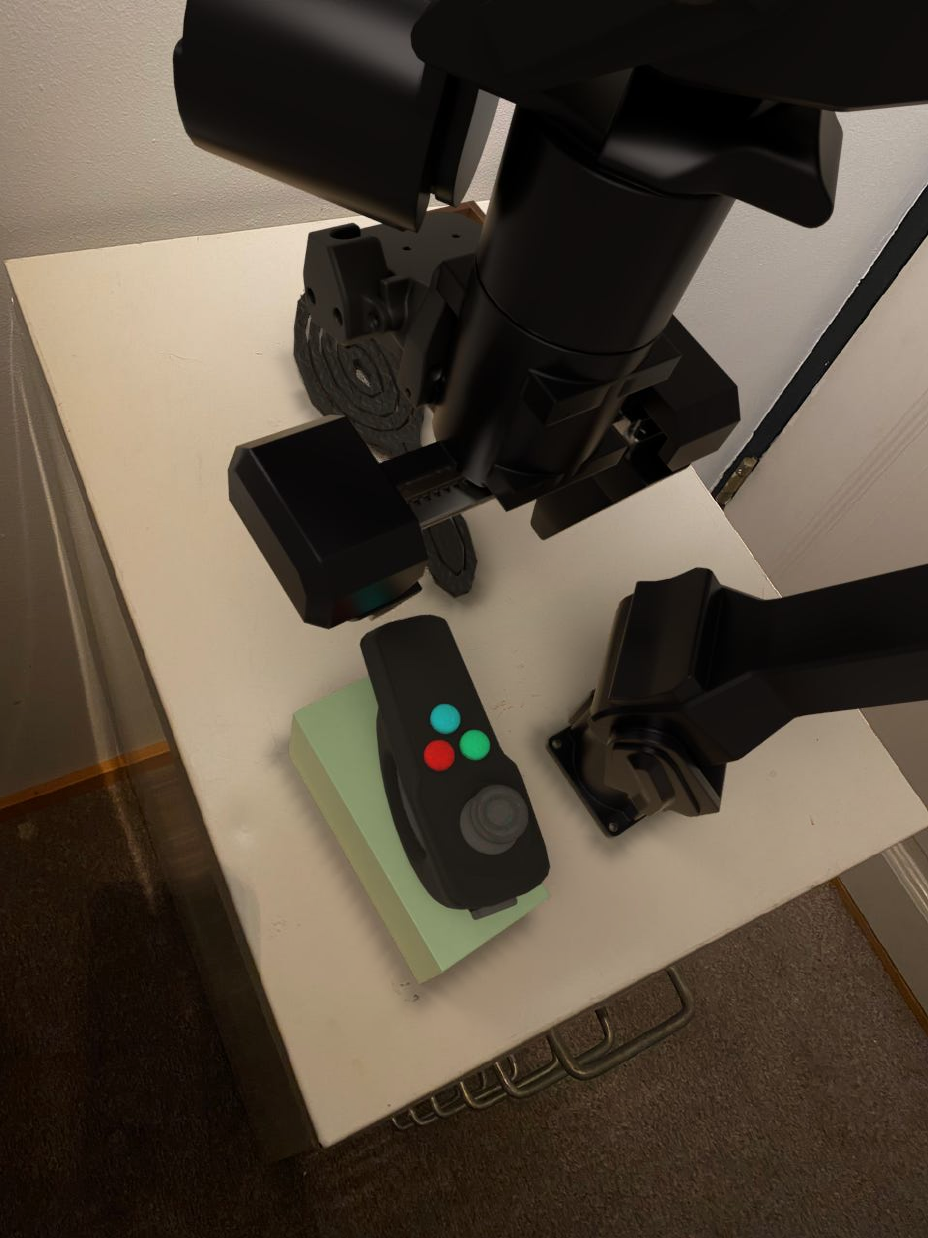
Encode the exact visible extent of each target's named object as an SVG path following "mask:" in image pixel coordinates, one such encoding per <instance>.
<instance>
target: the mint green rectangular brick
mask: <svg viewBox="0 0 928 1238" xmlns="http://www.w3.org/2000/svg"><path fill="white" fill-rule="evenodd" d="M377 712H378V704H377V701H376V697H375V694H374V691H373V687H372V684H371V681H370V678H369V674H368V675H366V676H364V677H362V678H360V679H359V680H356V681H354V682H352V683H350V684H348V685H346V686H344V687H342V688H340V689H338V690H336V691H334V692H331V693H330V694H328V695H326V696H324V697H322V698H320V699H318V700H315V701H314V702H312V703H310V704H308V705H306V706H304V707H302V708H300V709H298V710H296V711H294V712H292V715H291V716H292V717H291V726H290V727H291V728H290V736H289V737H290V738H289V748H288V756H289V757H290V759H291V761H292V763H293V765H294V766H295V768H296V770H297V772H298V773H299V775H300V777H301V779H302V780H303V781H304V782H303V783H304V784H305V786H306V788H307V789H308V791H309V793H310V795H311V797H312V798H313V800H314V801H315V803H316V805H317V807H318V808H319V811H320V812H321V814H322V815H323V817H324V819H325V821H326V823H327V824H328V827H329V828H330V829H331V832H332V833H333V835H334V837H335V839H336V841H337V842H338V844H339V846H340V847H341V849H342V851H343V852H344V854H345V856H346V858H347V859H348V861H349V863H350V865H351V867H352V868H353V870H354V872H355V874H356V875H357V877H358V879H359V881H360V882H361V884H362V886H363V888H364V889H365V891H366V893H367V895H368V897H369V899H370V900H371V902H372V904H373V905H374V908H375V909H376V911H377V912H378V914H379V915H380V918H381V920H382V922H383V923H384V925H385V927H386V929H387V930H388V932H389V934H390V936H391V937H392V939H393V940H394V943H395V944H396V946H397V948H398V950H399V951H400V953H401V955H402V956H403V959H404V960H405V962H406V964H407V965H408V967H409V969H410V971H411V972H412V974H413V977H414V978H415V980H416V981H417V983H418V984H419V985H420V984H423V983H424V982H425V983H426V982H427V981H429V980H431V979H432V978H434V977H436V976H438V975H441V974H442V973H444V972H446V971H447V970H449V969H450V968H451V967H453V966H455V965H456V964H457V963H458V962H460V961H462V960H463V959H464V958H466V957H467V956H469V955H471V954H472V953H473V952H474V951H476V950H477V949H479V948H480V947H481V946H484V944H486V943H488V942H489V941H490V940H492V939H493V938H494V937H496V936H497V935H499V934H500V933H501V932H503V931H504V930H506V929H507V928H509V927H510V926H512V925H513V924H515V923H516V922H517V921H518V920H520V919H522V918H523V917H524V916H526V915H528V913H530V912H531V911H533V910H534V909H536V908H537V907H539V906H540V905H542V904H543V903H544V902H546V901H547V900H549V899H550V898H551V896H552V895H551V893H550V892H549V891H548V889H547V887H546V886H545V884H544V882H542V883H541V884H540V885H539V886H537V887H536V888H534V889H533V890H531V891H530V892H528V893H526V894H523V895H521V896H518V897H516V898H517V901H518V902H517V904H516V905H515V906H512V907H510V908H507V909H505V910H502V911H500V912H497V913H494V914H492V915H489V916H486V917H484V918H481V919H478V920H474V919H473V918H472V916H471V913H470V912H469V910H468V909H466V910H457V909H451V908H447V907H445V906H443V905H441V904H440V903H438V902H437V901H436V900H434V899H433V898H432V897H431V896H430V894H429V893H428V892H427V891H426V889H425V888H424V886H423V885H422V884H421V882H420V880H419V879H418V877H417V875H416V874H415V872H414V870H413V868H412V866H411V865H410V863H409V860H408V858H407V856H406V854H405V851H404V849H403V846H402V844H401V841H400V838H399V836H398V833H397V830H396V828H395V825H394V822H393V818H392V815H391V811H390V807H389V804H388V800H387V797H386V793H385V789H384V784H383V779H382V774H381V769H380V761H379V753H378V743H377V732H376V719H377Z"/></svg>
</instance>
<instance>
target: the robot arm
mask: <svg viewBox="0 0 928 1238" xmlns="http://www.w3.org/2000/svg"><path fill="white" fill-rule="evenodd" d="M185 2H186V3H185V9H184V15H183V21H182V22H183V23H182V37H181V38H179V40H178V41H177V42H176V44H175V45H174V48H173V52H172V73H173V77H172V78H173V87H174V93H175V99H176V105H177V106H176V107H177V111H178V115H179V118H180V120H181V123H182V126H183V129H184V131H185V133H186V135H187V136H188V138H189V140H190V141H191V142H192V144H193V145H194V146H195V147H197V148H199V149H201V150H203V151H204V152H206V153H209V154H211V155H214V156H216V157H218V158H220V159H221V158H222V159H223V160H225V161H228V162H231V163H233V164H236V165H237V166H240V167H243V168H246V169H248V170H250V171H253V172H256V173H258V174H260V175H262V176H265V177H267V178H270V179H272V180H275V181H278V182H280V183H282V184H285V185H287V186H289V187H292V188H294V189H296V190H299V191H302V192H304V193H306V194H309V195H311V196H313V197H316V198H318V199H321V200H323V201H326V202H329V203H330V204H333V205H336V206H338V207H341V208H343V209H346V210H348V211H350V212H353V213H356V214H357V215H360V216H363V217H365V218H367V219H370V220H372V221H375V222H377V223H378V224H373V225H370V226H366V227H360V226H359V224H356V223H355V222H348V223H344V224H339V225H336V226H331V227H327V228H322V229H318V230H314V231H309V232H308V234H307V239H306V240H307V241H306V247H305V254H304V261H303V268H302V280H303V290H304V291H305V292H304V293H305V297H306V305H307V309H308V311H309V314H310V316H309V317H310V319H311V318H312V320H313V322H314V323H316V324H317V325H318V326H319V327H321V328H320V329H322V331H323V330H324V331H326V332H327V333H328V334H329V335H331V336H332V337H333V338H334V339H335V341H336V342H337V341H338V342H339V343H341V344H342V345H344V346H347V345H350V344H353V343H357V342H360V341H363V340H367V339H370V338H374V339H375V340H376V341H377V342H379V343H380V344H381V345H383V346H384V347H385V348H387V349H388V350H389V351H391V352H392V353H393V354H395V355H396V356H397V357H399V358H400V359H402V360H401V365H400V370H399V375H398V379H397V385H398V386H399V388H400V389H401V391H402V392H403V393H404V395H405V396H406V397H407V399H408V400H409V401H410V403H411V404H412V406H413V407H414V408H416V409H417V408H420V407H423V406H424V407H425V406H427V408H429V410H430V411H431V412H432V414H433V417H432V421H431V425H432V432H433V436H434V439H435V441H434V442H432V443H429V444H427V445H424V446H422V447H421V448H418V449H416V450H413V451H410V452H408V453H405V454H402V455H400V456H397V457H394V458H392V457H391V458H388V459H387V460H384V461H381V462H379V460H378V459H377V458H376V456H375V455H374V454H373V452H372V450H371V449H370V447H369V446H368V445H366V443H365V442H364V441H363V439H362V438H361V436H360V435H359V433H358V432H357V430H356V429H355V428H354V426H353V425H352V423H351V422H350V420H349V419H348V417H347V416H343V415H327V416H321V417H318V418H315V419H312V420H310V421H307V422H303V423H301V424H298V425H294V426H292V427H288V428H286V429H283V430H280V431H277V432H274V433H271V434H268V435H265V436H262V437H259V438H256V439H253V440H250V441H247V442H244V443H241V444H238V445H235V448H234V450H233V454H232V456H231V459H230V462H229V464H228V467H227V487H228V501H229V503H230V504H231V506H232V507H233V509H234V511H235V512H236V514H237V516H238V517H239V519H240V520H241V522H242V524H243V526H244V527H245V529H246V530H247V532H248V534H249V536H250V537H251V538H252V540H253V542H254V544H255V545H256V547H257V548H258V550H259V552H260V553H261V555H262V557H263V558H264V560H265V561H266V563H267V565H268V566H269V568H270V569H271V571H272V573H273V575H274V576H275V578H276V579H277V582H278V583H279V584H280V586H281V587H282V589H283V591H284V593H285V594H286V596H287V598H288V599H289V601H290V603H291V604H292V606H293V607H294V609H295V610H296V613H297V614H298V615H299V617H300V619H301V620H302V622H303V624H307V625H310V626H314V627H318V628H321V629H325V630H331V629H333V628H336V627H338V626H340V625H342V624H344V623H347V622H348V623H355V622H359V621H362V620H364V619H366V618H367V619H368V621H370V622H372V621H375V620H377V619H379V618H380V617H382V616H384V615H386V614H387V613H390V612H391V611H392V610H394V609H395V608H397V607H399V606H401V605H402V604H403V603H405V602H406V601H409V600H410V599H412V598H413V597H415V596H416V595H418V594H420V593H421V592H422V591H423V587H422V585H421V584H420V582H419V580H421V578H422V577H424V574H425V571H426V568H427V563H428V560H429V557H428V554H427V550H426V546H425V543H424V539H423V535H422V531H421V530H422V529H425V528H427V527H430V526H432V525H434V524H437V523H439V522H441V521H444V520H446V519H448V518H451V517H453V516H455V515H458V514H460V513H461V514H462V513H465V512H467V511H469V510H471V509H472V510H473V509H474V508H476V507H479V506H481V505H484V504H486V503H488V502H490V501H493V500H496V501H497V503H499V505H500V506H501V508H502V509H503V510H504V512H505V513H509V512H511V511H513V510H516V509H518V508H519V507H523V506H524V505H527V504H529V503H532V502H533V501H535V502H534V505H533V509H532V513H531V517H530V522H529V523H530V527H531V529H532V530H533V531H534V533H535V534H536V536H537V537H538V538H539V540H541V541H546V540H548V539H551V538H552V537H554V536H556V535H558V534H560V533H563V532H564V531H567V530H568V529H570V528H572V527H574V526H576V525H579V524H580V523H582V522H584V521H586V520H588V519H590V518H591V517H593V516H596V515H598V514H599V513H601V512H604V511H606V510H609V509H610V508H611V507H614V506H615V505H617V504H619V503H621V502H623V501H626V500H627V499H629V498H631V497H634V496H635V495H637V494H639V493H641V492H643V491H645V490H647V489H649V488H652V487H653V486H655V485H657V484H659V483H661V482H663V481H665V480H667V479H669V478H671V477H673V476H675V475H677V474H679V473H681V472H683V471H685V470H687V469H688V468H689V467H690V466H692V465H691V464H692V463H695V462H696V461H699V460H701V459H703V458H705V457H707V456H709V455H712V454H714V453H716V452H718V451H719V450H720V449H721V447H722V446H723V444H724V443H725V442H726V441H727V439H728V438H729V436H730V435H731V434H732V433H733V431H734V430H735V428H736V427H737V426H738V425H739V423H741V420H742V419H741V418H742V417H741V405H740V396H739V386H738V384H737V383H736V382H734V380H733V378H731V377H730V376H729V374H728V373H727V372H726V371H725V370H724V368H722V367H721V366H720V364H718V362H717V361H716V360H715V359H714V358H713V357H712V355H710V354H709V352H708V351H707V350H706V349H705V347H703V345H701V344H700V342H699V341H698V340H697V339H696V338H695V337H694V336H693V334H691V333H690V331H689V330H688V328H686V327H685V326H684V325H683V323H682V322H681V321H680V320H679V319H678V318H677V317H676V316H675V315H674V312H675V311H676V309H677V307H678V305H679V303H680V302H681V300H682V298H683V296H684V295H685V293H686V291H687V289H688V287H689V286H690V284H691V282H692V280H693V278H694V276H695V274H696V273H697V272H698V269H699V267H700V266H701V264H702V262H703V260H704V259H705V257H706V255H707V253H708V251H709V249H710V247H711V245H712V244H713V242H714V240H715V238H716V236H717V235H718V233H719V231H720V229H721V228H722V226H723V224H724V223H725V220H726V219H727V217H728V215H729V213H730V211H731V210H732V208H733V206H734V204H735V202H736V200H737V201H739V202H742V203H744V204H747V205H748V206H752V207H755V208H757V209H759V210H761V211H764V212H766V213H769V214H770V215H773V216H776V217H778V218H780V219H783V220H785V221H788V222H790V223H793V224H795V225H798V226H800V227H802V228H806V229H818V228H821V227H822V226H824V225H825V224H826V223H827V222H828V221H830V220H831V217H832V216H833V214H834V210H835V204H836V197H837V196H836V195H837V188H838V180H839V171H840V165H841V156H842V147H843V138H844V131H843V127H842V124H841V123H840V121H839V119H838V116H837V114H836V113H852V112H861V111H863V112H864V111H873V110H874V111H875V110H883V109H893V108H894V109H895V108H903V107H912V106H922V105H928V0H186V1H185ZM500 99H502V100H505V101H507V102H509V103H512V104H514V105H515V106H514V110H513V113H512V117H511V120H510V123H509V128H508V132H507V135H506V139H505V143H504V147H503V149H502V154H501V157H500V161H499V165H498V169H497V173H496V176H495V180H494V183H493V187H492V192H491V195H490V199H489V202H488V206H487V209H486V213H485V214H486V217H485V220H484V224H483V225H481V224H479V223H477V222H475V221H473V220H472V219H470V218H468V217H466V216H464V215H461V214H458V213H454V212H442V211H441V212H430V213H426V211H428V208H429V204H430V201H431V195H434V200H436V201H438V202H440V203H443V204H445V205H446V206H452V207H454V208H457V207H458V206H459V205H460V203H463V200H464V198H465V196H466V195H467V193H468V191H469V188H470V186H471V184H472V182H473V179H474V177H475V175H476V172H477V170H478V167H479V164H480V162H481V159H482V156H483V154H484V151H485V148H486V145H487V142H488V139H489V136H490V133H491V130H492V126H493V123H494V120H495V116H496V113H497V109H498V106H499V102H500ZM923 701H924V702H925V701H928V562H926V563H922V564H918V565H913V566H910V567H904V568H901V569H898V570H897V569H896V570H893V571H888V572H885V573H880V574H875V575H871V576H867V577H862V578H859V579H854V580H850V581H845V582H842V583H838V584H832V585H829V586H828V585H827V586H825V587H819V588H816V589H811V590H807V591H803V592H799V593H794V594H790V595H785V596H782V597H775V598H769V599H768V598H767V599H764V598H761V597H759V596H755V595H753V594H750V593H748V592H744V591H742V590H739V589H736V588H733V587H730V586H727V585H725V584H722V583H721V582H720V581H719V579H718V577H717V575H716V574H715V572H714V571H713V570H712V569H711V568H708V567H699V566H696V567H693V568H691V569H689V570H687V571H684V572H682V573H680V574H678V575H676V576H672V577H670V578H664V579H657V580H637V581H636V582H635V586H634V590H633V592H632V593H631V594H629V595H627V596H625V597H624V598H622V599H621V600H620V601H619V603H618V606H617V608H616V609H615V613H614V615H613V620H612V624H611V628H610V631H609V636H608V639H607V643H606V647H605V651H604V655H603V659H602V663H601V667H600V671H599V674H598V679H597V682H596V687H595V688H594V689H592V690H591V691H589V693H588V694H587V695H586V696H585V697H584V698H583V700H581V702H580V703H579V704H578V705H577V706H576V707H575V709H573V711H572V712H571V713H570V714H569V715H568V719H567V722H568V723H569V725H568V726H567V727H566V728H564V729H562V730H560V731H558V732H557V733H555V734H554V735H552V736H551V737H549V738H548V740H547V741H546V742H545V748H546V750H547V752H548V753H549V755H550V756H551V758H552V759H553V761H554V762H555V764H556V765H557V766H558V768H559V769H560V771H561V773H562V774H563V776H564V777H565V779H566V780H567V782H568V783H569V784H570V786H571V787H572V789H573V790H574V791H575V793H576V794H577V796H578V798H579V799H580V801H581V803H582V804H583V805H584V807H585V808H586V809H587V811H588V813H589V814H590V815H591V817H592V818H593V820H594V821H595V822H596V824H597V826H598V827H599V829H600V830H601V832H602V833H603V834H604V836H605V837H606V838H609V839H614V838H616V837H618V836H620V835H622V834H623V833H624V832H626V831H627V830H628V829H630V828H631V827H633V826H635V825H636V824H637V823H639V822H640V821H642V820H643V819H644V818H646V817H651V816H653V815H655V814H657V813H659V812H669V811H671V812H674V813H677V814H679V815H681V816H685V817H688V818H694V817H695V818H697V817H701V816H707V815H712V814H713V815H714V814H717V813H720V811H721V806H722V799H723V791H724V785H725V779H726V772H727V765H728V763H734V762H737V761H740V760H741V759H743V758H744V757H746V756H747V755H748V754H750V753H751V752H752V751H754V750H756V748H757V747H759V746H760V745H761V744H763V743H764V742H766V741H767V740H768V739H769V738H771V737H772V736H774V735H775V734H776V733H778V731H780V730H781V729H782V728H783V727H786V725H788V724H789V723H790V722H792V721H793V720H794V719H797V718H800V717H805V716H812V715H819V714H827V713H835V712H844V711H853V710H859V709H868V708H875V707H883V706H893V705H900V704H907V703H916V702H923ZM553 743H556V745H557V746H558V747H554V744H553ZM610 825H611V826H613V828H614V831H612V830H611V828H610Z"/></svg>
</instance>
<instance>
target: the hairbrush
mask: <svg viewBox="0 0 928 1238" xmlns="http://www.w3.org/2000/svg"><path fill="white" fill-rule="evenodd" d="M295 309H296V310H295V315H294V323H293V351H292V352H293V354H292V355H293V358H294V360H295V363H296V366H297V369H298V372H299V375H300V377H301V379H302V382H303V385H304V388H305V390H306V392H307V395H308V397H309V400H310V403H311V405H312V406H314V408H315V409H316V410H317V411H318V412H319V413H320V414H321V415H322V417H324V416H327V415H343V416H347V417H348V419H349V420H350V422H351V423H352V425H353V426H354V428H355V429H356V430H357V432H358V433H359V435H360V436H361V438H362V439H363V441H364V442H365V443H366V445H367V446H368V447H369V448H371V449H375V450H376V451H378V452H381V453H383V454H384V455H387V456H388V457H390V458H391V459H392V458H394V457H397V456H400V455H402V454H405V453H408V452H410V451H413V450H416V449H418V448H421V447H423V445H422V443H421V441H422V440H421V439H422V438H421V437H422V425H423V422H424V417H425V416H424V411H425V406H423V407H420V408H417V409H416V408H414V407H413V406H412V404H411V403H410V401H409V400H408V399H407V397H406V396H405V395H404V393H403V392H402V391H401V389H400V388H399V386H398V385H397V379H398V375H399V370H400V365H401V360H402V359H400V358H399V357H397V356H396V355H395V354H393V353H392V352H391V351H389V350H388V349H387V348H385V347H384V346H383V345H381V344H380V343H379V342H377V341H376V340H375V339H374V338H370V339H367V340H363V341H360V342H357V343H353V344H350V345H347V346H344V345H342V344H341V343H339V342H338V341H337V340H336V339H334V338H333V337H332V336H331V335H329V334H328V333H327V332H326V331H324V330H323V329H322V328H321V327H319V326H318V325H317V324H316V323H314V322H313V320H312V318H311V316H310V314H309V311H308V309H307V305H306V297H305V289H303V294H300V295H299V299H298V300H297V304H296V308H295ZM309 318H310V321H309ZM308 323H309V329H308V336H307V328H308ZM321 329H322V331H321ZM321 332H322V333H321ZM320 333H321V335H320ZM356 368H359V370H360V371H361V373H362V374H363V376H362V377H361V379H360V378H358V376H357V373H356V372H357V370H356ZM364 377H365V378H366V380H367V382H368V384H366V383H365V381H363V380H364ZM396 408H398V409H397V410H396ZM410 417H411V418H410ZM409 419H410V421H409ZM421 531H422V535H423V539H424V543H425V546H426V550H427V554H428V557H429V560H428V563H427V566H426V568H427V569H428V571H429V573H430V576H431V577H432V579H433V581H434V583H435V584H436V585H437V586H439V587H440V588H441V589H442V590H443V591H444V592H446V593H447V594H449V595H450V596H452V597H453V598H454V599H455V598H459V597H461V596H464V595H466V594H469V592H470V591H471V590H472V587H473V583H474V581H475V577H476V576H475V574H476V570H477V565H478V557H477V554H476V550H475V547H474V543H473V540H472V535H471V533H470V529H469V525H468V523H467V521H466V519H465V518H464V515H462V513H460V514H458V515H455V516H453V517H451V518H448V519H446V520H444V521H441V522H439V523H437V524H434V525H432V526H430V527H427V528H425V529H422V530H421Z"/></svg>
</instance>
